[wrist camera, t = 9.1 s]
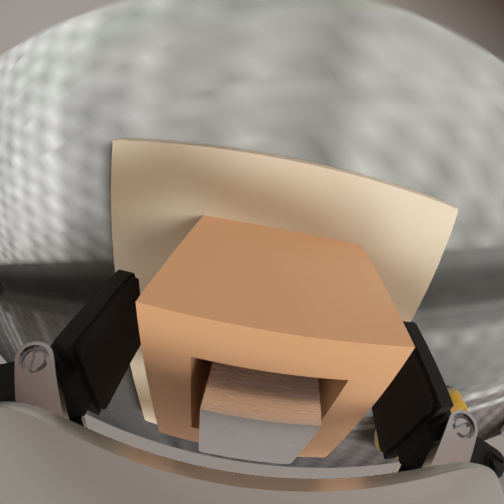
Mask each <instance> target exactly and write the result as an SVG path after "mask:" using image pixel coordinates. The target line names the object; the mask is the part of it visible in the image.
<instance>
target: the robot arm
mask: <svg viewBox="0 0 504 504" xmlns="http://www.w3.org/2000/svg"><path fill="white" fill-rule="evenodd" d="M139 296H140V285H139V279H138V278H136V277H135V274H134V273H132V272H128V271H124V270H118V271H117V272H116V273H115V274H114V275H113V276H112V277H111V278H110V279H109V280H108V281H107V282H106V283H105V284H104V285H103V286H102V287H101V288H100V289H99V290H98V291H97V293H96V294H95V295H94V296H93V297H92V298H91V299H90V300H89V301H88V302H87V303H86V305H85V306H84V307H83V308H82V309H81V310H80V311H79V312H78V314H77V315H76V316H75V317H74V318H73V319H72V320H71V322H70V323H69V324H68V325H67V326H66V327H65V329H64V330H63V331H62V332H61V333H60V335H59V336H58V337H57V338H56V339H55V341H54V342H53V344H52V345H51V346H49V345H47V344H46V343H43V342H39V341H38V342H30V343H27V344H26V345H24V346H22V347H21V348H20V349H19V350H18V352H17V354H16V357H15V361H14V362H10V363H5V364H0V504H504V457H503V456H502V454H501V453H500V452H499V451H498V450H497V449H495V448H494V447H492V446H491V445H489V444H488V443H486V442H485V441H483V440H482V439H480V438H479V437H477V433H478V426H477V423H476V420H475V418H474V417H473V416H472V415H471V414H470V413H469V412H467V411H465V410H460V409H459V410H455V411H454V412H453V413H451V411H450V409H451V408H452V407H453V406H454V404H453V402H452V399H451V397H450V394H449V392H448V390H447V387H446V385H445V383H444V380H443V378H442V376H441V374H440V371H439V369H438V367H437V365H436V363H435V361H434V358H433V356H432V354H431V352H430V350H429V348H428V346H427V344H426V342H425V340H424V338H423V336H422V334H421V332H420V330H419V329H418V327H417V325H416V324H415V323H414V322H406V321H403V323H404V325H405V327H406V329H407V331H408V333H409V335H410V337H411V339H412V342H413V344H414V346H415V348H414V350H413V351H412V353H411V354H410V356H409V357H408V359H407V360H406V362H405V363H404V365H403V366H402V368H401V369H400V371H399V372H398V374H397V375H396V376H395V378H394V379H393V380H392V382H391V383H390V385H389V386H388V387H387V389H386V390H385V391H384V392H383V394H382V395H381V396H380V398H379V399H378V400H377V401H376V403H375V404H374V405H373V406H372V411H373V416H374V421H375V426H376V431H377V437H378V442H379V448H380V451H381V452H383V454H384V459H389V458H396V457H398V458H399V462H398V464H397V465H396V467H395V469H394V470H393V472H392V473H390V474H383V475H375V476H366V477H356V478H340V479H339V478H338V479H292V478H276V477H264V476H254V475H247V474H240V473H233V472H227V471H221V470H216V469H211V468H206V467H201V466H197V465H192V464H188V463H184V462H180V461H176V460H172V459H169V458H166V457H162V456H159V455H156V454H152V453H149V452H146V451H143V450H141V449H137V448H134V447H132V446H129V445H127V444H124V443H121V442H119V441H116V440H114V439H111V438H108V437H106V436H104V435H101V434H99V433H97V432H94V431H92V430H90V429H88V428H87V425H86V422H85V418H84V415H85V414H86V412H87V410H89V411H91V412H93V413H95V414H98V415H99V413H100V411H101V409H106V408H107V406H108V404H109V402H110V401H111V399H112V397H113V395H114V393H115V391H116V389H117V387H118V385H119V383H120V382H121V380H122V378H123V376H124V374H125V372H126V371H127V369H128V367H129V365H130V363H131V361H132V360H133V358H134V356H135V354H136V352H137V351H138V349H139V347H140V345H141V341H140V334H139V327H138V319H137V311H136V300H137V299H138V298H139ZM500 433H501V435H502V436H504V424H503V426H502V427H501V429H500Z"/></svg>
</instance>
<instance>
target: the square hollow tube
mask: <svg viewBox="0 0 504 504" xmlns="http://www.w3.org/2000/svg"><path fill="white" fill-rule="evenodd" d="M136 311H137V319H138V327H139V334H140V341H141V348H142V354H143V360H144V366H145V371H146V377H147V382H148V387H149V391H150V396H151V401H152V405H153V409H154V414H155V418H156V422H157V425H158V429H159V432H161V433H164V434H168V435H171V436H175V437H178V438H182V439H186V440H190V441H194V442H198V443H199V424H200V407H201V404H202V400H203V396H204V393H205V389H206V386H207V382H208V378H209V375H210V371H211V368H212V364H213V362H217V363H222V364H227V365H232V366H238V367H243V368H249V369H255V370H261V371H267V372H274V373H281V374H289V375H297V376H305V377H315V378H318V381H319V393H320V406H321V421H322V426H321V428H320V429H319V430H318V431H317V433H316V434H315V435H314V436H313V438H312V439H311V440H310V441H309V443H308V444H307V445H306V446H305V447H304V449H303V450H302V451H301V452H300V453H299V455H298V457H326V456H327V455H328V454H329V453H330V452H331V451H332V450H333V449H334V448H335V447H336V446H337V445H338V444H339V443H340V442H341V441H342V440H343V439H344V438H345V437H346V436H347V435H348V434H349V433H350V432H351V431H352V429H353V428H354V427H355V426H356V425H357V424H358V423H359V422H360V420H361V419H362V418H363V417H364V416H365V415H366V413H367V412H368V411H369V410H370V409H371V407H372V406H373V405H374V404H375V403H376V401H377V400H378V399H379V398H380V396H381V395H382V394H383V392H384V391H385V390H386V389H387V387H388V386H389V385H390V383H391V382H392V380H393V379H394V378H395V376H396V375H397V374H398V372H399V371H400V369H401V368H402V366H403V365H404V363H405V362H406V360H407V359H408V357H409V356H410V354H411V353H412V351H413V350H414V348H415V346H414V344H413V342H412V339H411V337H410V335H409V333H408V331H407V329H406V327H405V325H404V323H403V321H402V319H401V317H400V315H399V313H398V311H397V309H396V307H395V305H394V303H393V301H392V299H391V297H390V295H389V293H388V292H387V290H386V288H385V286H384V284H383V282H382V281H381V279H380V277H379V275H378V273H377V272H376V270H375V268H374V266H373V265H372V263H371V261H370V259H369V258H368V256H367V254H366V252H365V251H364V249H363V247H362V246H361V245H359V244H354V243H349V242H345V241H340V240H335V239H330V238H325V237H320V236H315V235H310V234H305V233H300V232H295V231H289V230H284V229H279V228H274V227H268V226H263V225H257V224H252V223H246V222H241V221H235V220H229V219H224V218H218V217H212V216H206V215H203V216H202V217H201V218H200V220H199V221H198V222H197V223H196V225H195V226H194V227H193V228H192V229H191V231H190V232H189V233H188V234H187V236H186V237H185V238H184V239H183V240H182V242H181V243H180V244H179V245H178V247H177V248H176V249H175V251H174V252H173V253H172V254H171V256H170V257H169V258H168V259H167V261H166V262H165V263H164V265H163V266H162V267H161V268H160V270H159V271H158V272H157V274H156V275H155V276H154V278H153V279H152V280H151V282H150V283H149V284H148V286H147V287H146V288H145V290H144V291H143V292H142V294H141V295H140V296H139V298H138V299H137V300H136Z"/></svg>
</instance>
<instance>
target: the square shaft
mask: <svg viewBox="0 0 504 504" xmlns="http://www.w3.org/2000/svg"><path fill="white" fill-rule="evenodd" d="M321 426H322V421H321V406H320V393H319V381H318V378H315V377H305V376H297V375H289V374H281V373H274V372H267V371H261V370H255V369H249V368H243V367H238V366H232V365H227V364H222V363H217V362H213V364H212V368H211V371H210V375H209V378H208V382H207V386H206V389H205V393H204V396H203V400H202V404H201V407H200V424H199V451H201V452H206V453H210V454H215V455H220V456H226V457H232V458H238V459H244V460H252V461H260V462H269V463H281V464H291V463H292V461H293V460H294V459H295V458H296V457H297V456H298V455H299V453H300V452H301V451H302V450H303V449H304V447H305V446H306V445H307V444H308V443H309V441H310V440H311V439H312V438H313V436H314V435H315V434H316V433H317V431H318V430H319V429H320V428H321Z"/></svg>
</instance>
